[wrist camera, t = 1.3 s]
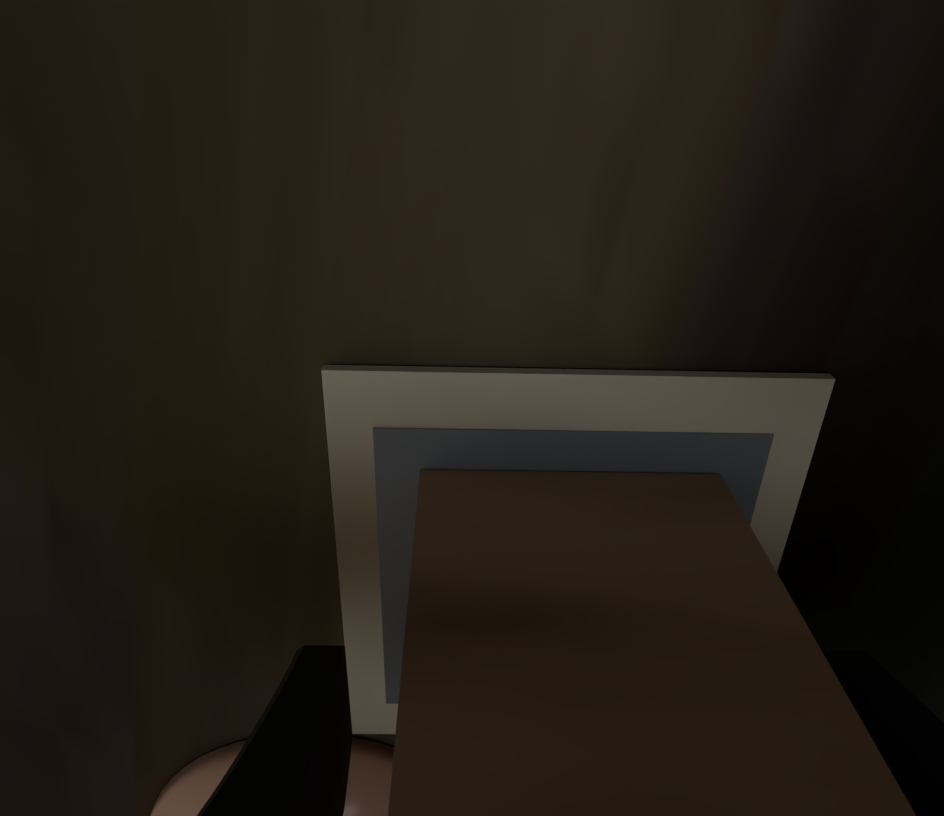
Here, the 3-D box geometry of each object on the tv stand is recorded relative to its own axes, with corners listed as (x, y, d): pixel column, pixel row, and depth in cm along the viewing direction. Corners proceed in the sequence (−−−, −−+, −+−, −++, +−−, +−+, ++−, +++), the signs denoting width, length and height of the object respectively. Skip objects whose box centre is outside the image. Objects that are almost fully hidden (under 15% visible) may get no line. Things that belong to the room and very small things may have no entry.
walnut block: (671, 681, 14) (796, 1071, 9) (422, 680, 14) (399, 1073, 9) (720, 474, 12) (929, 838, 7) (419, 469, 12) (385, 837, 6)
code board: (724, 727, 15) (728, 739, 15) (353, 725, 15) (351, 737, 15) (829, 373, 11) (837, 381, 11) (324, 365, 11) (320, 372, 11)
